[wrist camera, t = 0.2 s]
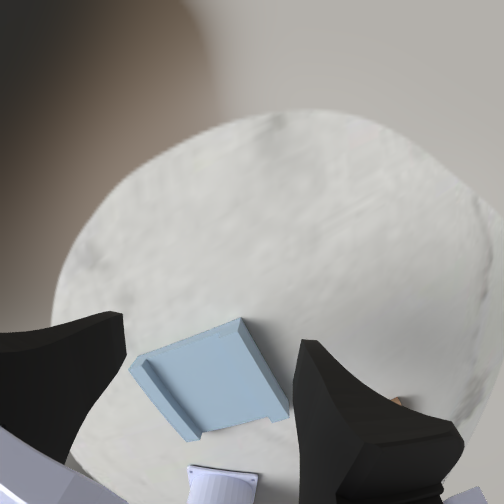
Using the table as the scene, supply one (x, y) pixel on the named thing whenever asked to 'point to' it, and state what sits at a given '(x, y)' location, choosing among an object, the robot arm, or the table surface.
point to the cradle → (211, 381)
